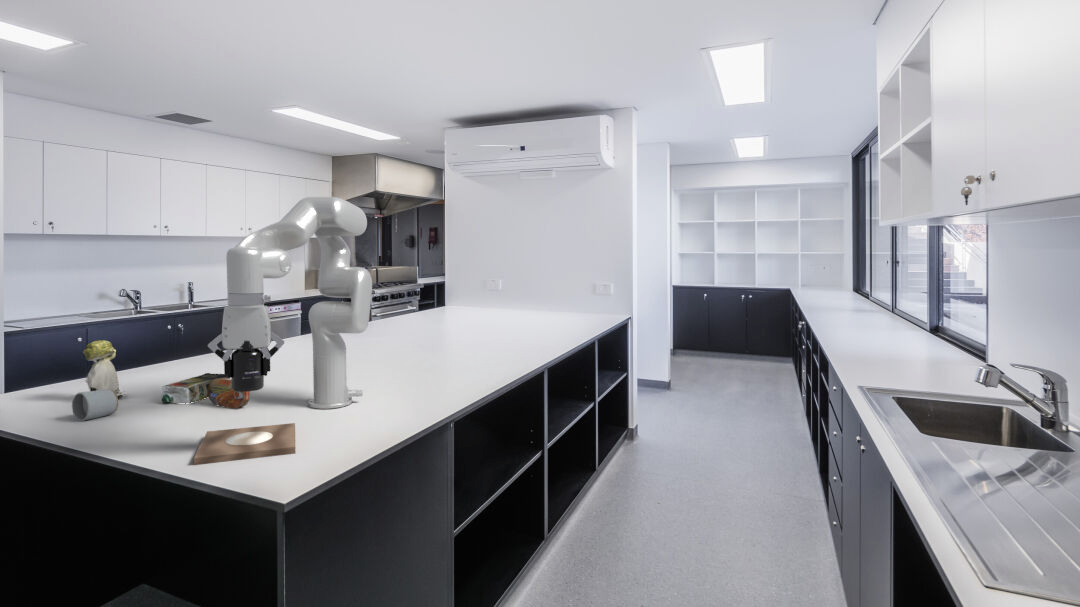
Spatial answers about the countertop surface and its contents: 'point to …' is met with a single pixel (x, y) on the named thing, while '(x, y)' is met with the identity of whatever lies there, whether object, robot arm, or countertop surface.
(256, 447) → the walnut board
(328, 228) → the robot arm
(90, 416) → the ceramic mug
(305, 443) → the countertop surface
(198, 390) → the juice carton
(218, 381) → the tin
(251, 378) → the supplement bottle
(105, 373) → the beige figurine with hat
